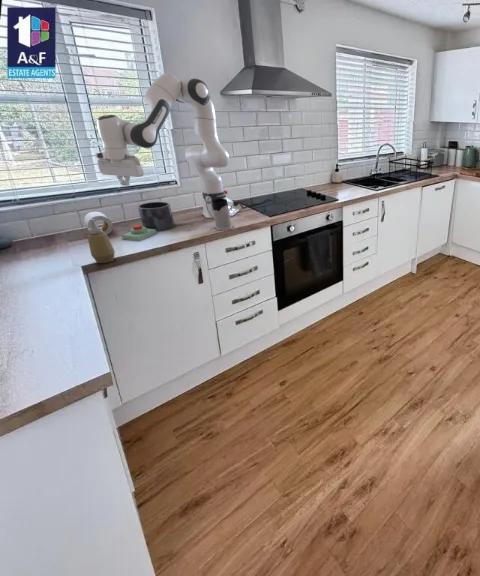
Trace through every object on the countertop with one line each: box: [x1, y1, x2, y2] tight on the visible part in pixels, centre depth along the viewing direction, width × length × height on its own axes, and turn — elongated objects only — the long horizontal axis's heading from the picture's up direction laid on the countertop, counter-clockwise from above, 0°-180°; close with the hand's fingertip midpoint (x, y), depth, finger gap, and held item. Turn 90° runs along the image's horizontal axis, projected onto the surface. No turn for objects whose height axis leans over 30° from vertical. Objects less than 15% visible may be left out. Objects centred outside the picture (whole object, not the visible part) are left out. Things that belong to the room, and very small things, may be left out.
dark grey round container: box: [137, 201, 176, 232], centre depth 195 cm, size 15×15×12 cm
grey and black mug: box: [206, 199, 233, 231], centre depth 198 cm, size 9×14×15 cm, turn 68°
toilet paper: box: [83, 211, 114, 236], centre depth 184 cm, size 10×10×10 cm
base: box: [121, 226, 157, 242], centre depth 184 cm, size 12×9×4 cm
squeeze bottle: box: [86, 219, 116, 264], centre depth 152 cm, size 8×8×18 cm
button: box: [132, 224, 143, 230], centre depth 182 cm, size 4×4×2 cm
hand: (125, 185), depth 173 cm, fingers closed
